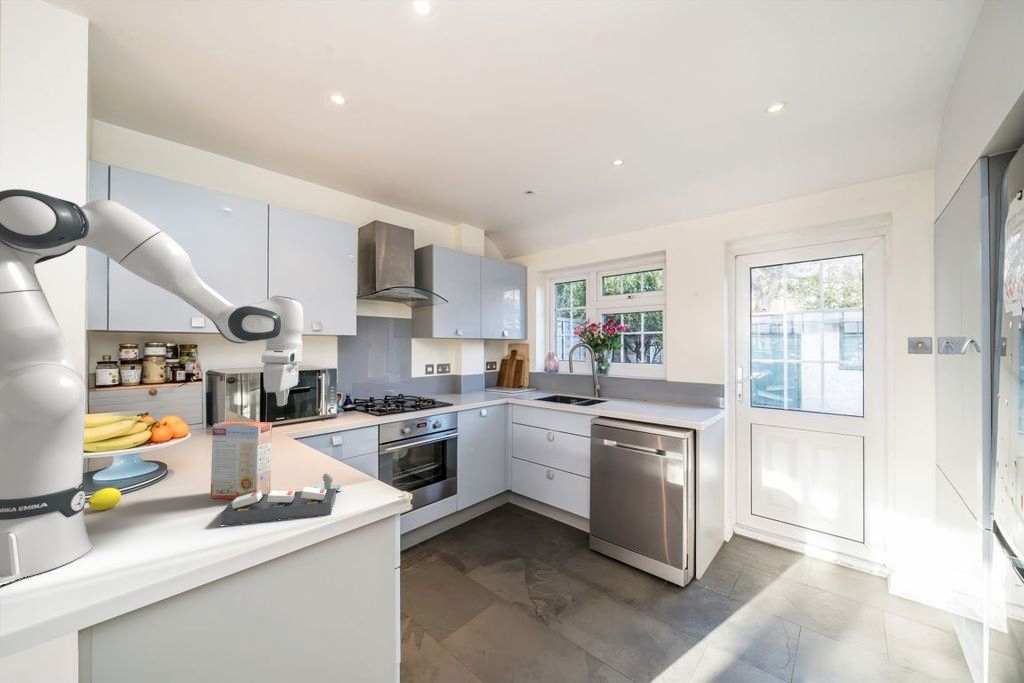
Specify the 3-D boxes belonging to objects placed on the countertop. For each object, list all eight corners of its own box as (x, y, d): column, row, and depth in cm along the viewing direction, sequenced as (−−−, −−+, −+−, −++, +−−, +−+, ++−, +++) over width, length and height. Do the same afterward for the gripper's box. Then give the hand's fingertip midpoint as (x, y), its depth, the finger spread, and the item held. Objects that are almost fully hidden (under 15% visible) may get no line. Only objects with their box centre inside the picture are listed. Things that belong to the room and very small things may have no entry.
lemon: (107, 505, 102) (111, 484, 103) (126, 506, 102) (130, 485, 103) (77, 513, 96) (81, 491, 96) (97, 514, 95) (101, 491, 96)
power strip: (220, 526, 91) (221, 510, 91) (236, 509, 101) (236, 494, 101) (330, 514, 99) (331, 499, 99) (335, 499, 108) (336, 486, 108)
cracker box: (271, 493, 112) (273, 421, 112) (255, 501, 106) (257, 425, 106) (227, 490, 113) (229, 419, 114) (209, 498, 107) (211, 423, 108)
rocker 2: (266, 501, 95) (268, 494, 95) (270, 496, 99) (272, 489, 99) (291, 502, 97) (292, 495, 97) (294, 497, 100) (295, 490, 100)
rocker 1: (233, 509, 93) (231, 502, 93) (238, 503, 96) (236, 497, 96) (258, 501, 95) (256, 494, 95) (262, 496, 98) (260, 489, 98)
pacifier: (324, 488, 117) (311, 495, 111) (325, 467, 117) (312, 473, 111) (346, 489, 116) (335, 496, 110) (347, 469, 117) (336, 475, 111)
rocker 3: (300, 497, 98) (302, 490, 98) (303, 492, 101) (305, 485, 101) (323, 500, 99) (325, 493, 99) (325, 495, 103) (326, 488, 103)
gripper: (281, 354, 115) (279, 400, 115) (259, 355, 96) (256, 411, 95) (305, 355, 117) (302, 400, 117) (287, 356, 98) (285, 410, 97)
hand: (281, 405), depth 106 cm, fingers closed
